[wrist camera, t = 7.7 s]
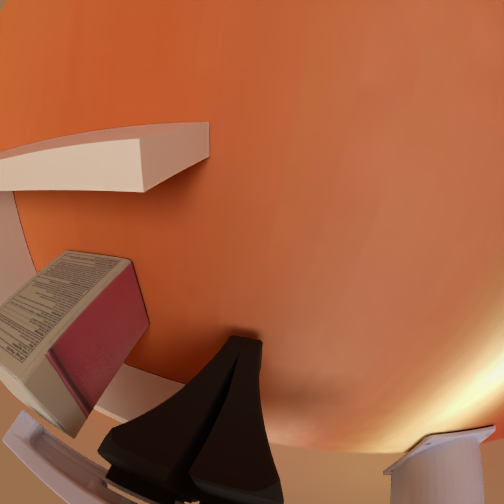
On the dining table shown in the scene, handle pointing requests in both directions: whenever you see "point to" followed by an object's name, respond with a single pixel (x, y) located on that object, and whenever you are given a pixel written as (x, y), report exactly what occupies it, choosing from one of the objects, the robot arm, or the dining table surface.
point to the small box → (70, 335)
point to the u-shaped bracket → (97, 179)
